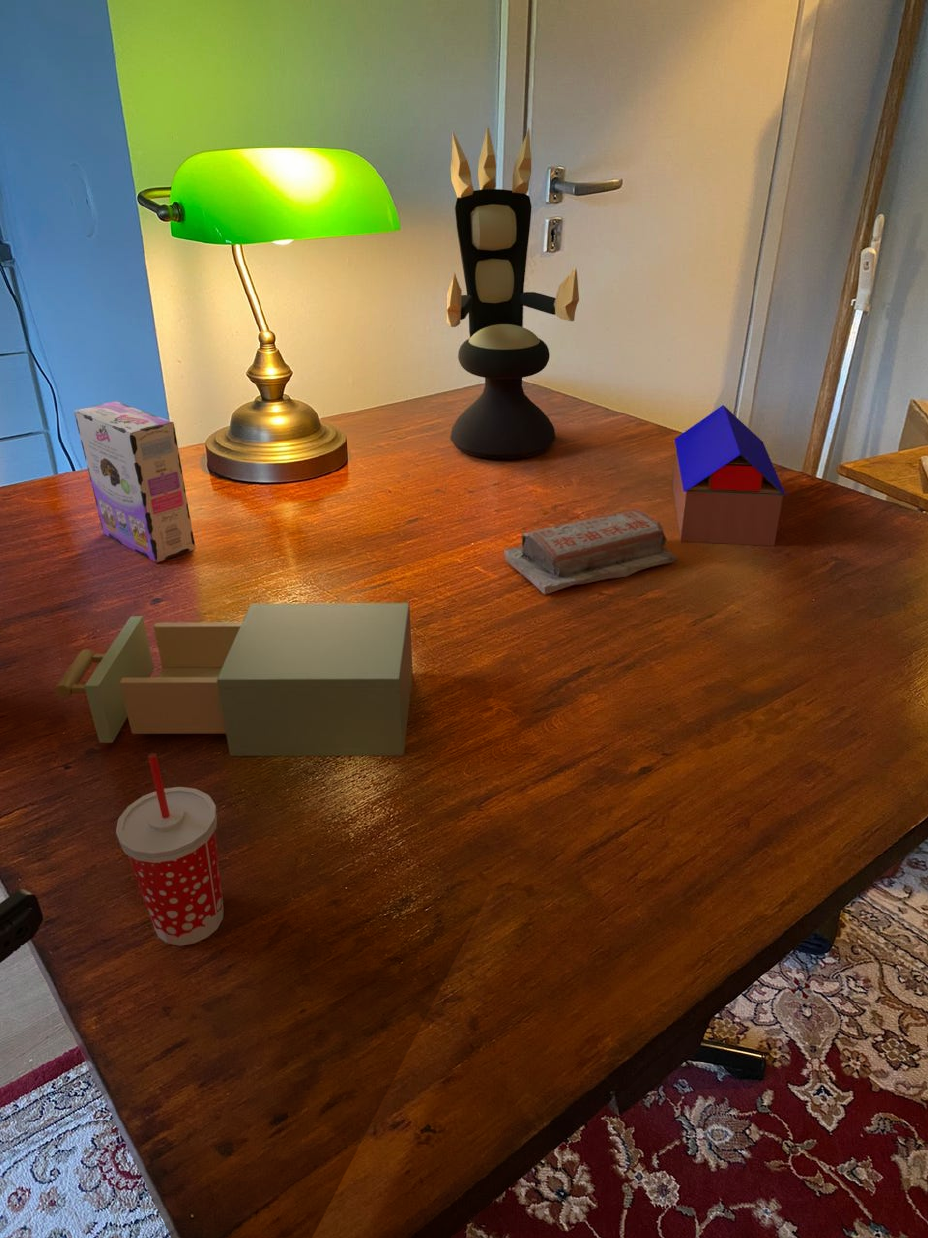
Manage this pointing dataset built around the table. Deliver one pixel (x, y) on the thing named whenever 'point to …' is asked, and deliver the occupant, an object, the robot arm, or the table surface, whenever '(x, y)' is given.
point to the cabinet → (318, 680)
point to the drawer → (155, 679)
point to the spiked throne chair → (500, 309)
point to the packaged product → (590, 550)
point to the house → (725, 484)
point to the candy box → (136, 479)
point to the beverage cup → (175, 859)
